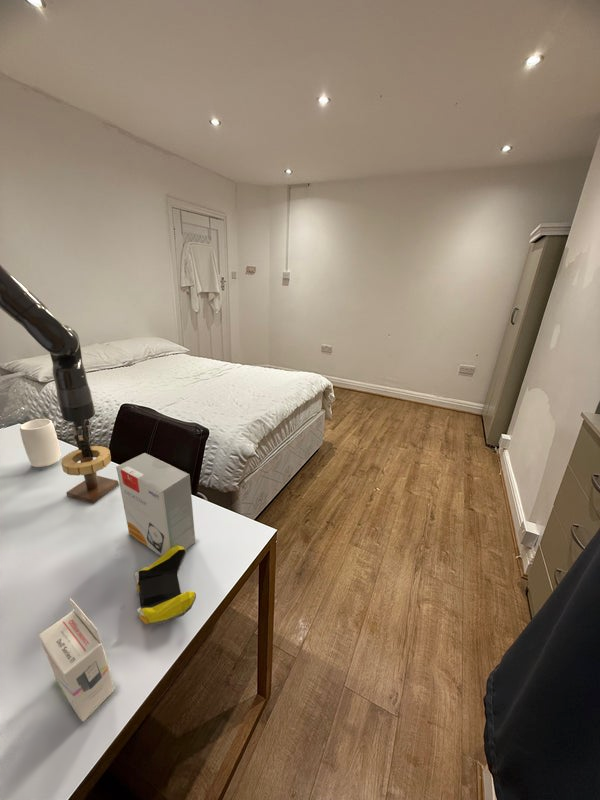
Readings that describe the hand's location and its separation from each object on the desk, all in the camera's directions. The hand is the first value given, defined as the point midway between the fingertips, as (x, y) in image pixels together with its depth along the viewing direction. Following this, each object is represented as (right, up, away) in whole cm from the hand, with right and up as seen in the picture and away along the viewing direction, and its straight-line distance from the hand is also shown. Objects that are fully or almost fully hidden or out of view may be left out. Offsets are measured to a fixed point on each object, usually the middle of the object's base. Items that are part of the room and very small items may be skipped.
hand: (88, 455), depth 93 cm
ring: (+2, -2, -3) cm, 4 cm away
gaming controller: (+34, -23, -28) cm, 50 cm away
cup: (-21, -5, +11) cm, 24 cm away
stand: (+2, -10, 0) cm, 10 cm away
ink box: (+28, -29, -43) cm, 59 cm away
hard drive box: (+28, -18, -15) cm, 36 cm away
